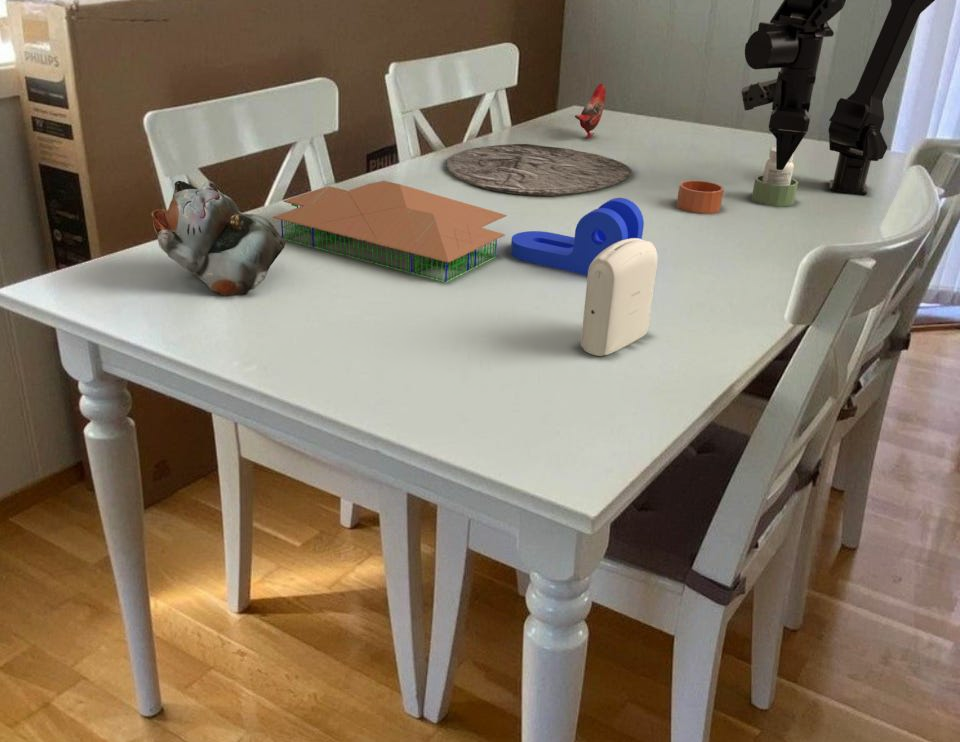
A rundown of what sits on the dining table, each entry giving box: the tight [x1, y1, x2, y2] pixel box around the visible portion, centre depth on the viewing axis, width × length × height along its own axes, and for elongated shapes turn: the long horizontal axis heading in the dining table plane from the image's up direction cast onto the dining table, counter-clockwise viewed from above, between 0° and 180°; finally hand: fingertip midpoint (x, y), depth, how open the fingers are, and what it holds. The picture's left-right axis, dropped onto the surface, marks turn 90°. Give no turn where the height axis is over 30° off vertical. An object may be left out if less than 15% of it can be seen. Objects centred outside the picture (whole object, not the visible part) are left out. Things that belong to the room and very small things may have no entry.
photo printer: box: [580, 238, 659, 357], centre depth 119 cm, size 10×4×12 cm, turn 140°
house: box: [272, 180, 507, 283], centre depth 149 cm, size 23×33×8 cm
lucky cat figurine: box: [150, 180, 287, 297], centre depth 131 cm, size 15×12×14 cm
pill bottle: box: [762, 146, 795, 185], centre depth 177 cm, size 5×5×8 cm
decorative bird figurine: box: [574, 83, 607, 140], centre depth 209 cm, size 3×18×10 cm, turn 156°
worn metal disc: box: [445, 143, 632, 197], centre depth 189 cm, size 33×35×1 cm
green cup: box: [751, 174, 799, 207], centre depth 178 cm, size 7×7×4 cm
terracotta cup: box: [676, 179, 725, 214], centre depth 172 cm, size 7×7×4 cm
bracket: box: [510, 197, 645, 276], centre depth 145 cm, size 18×8×9 cm, turn 62°
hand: (780, 163), depth 176 cm, fingers open, 9 cm apart
